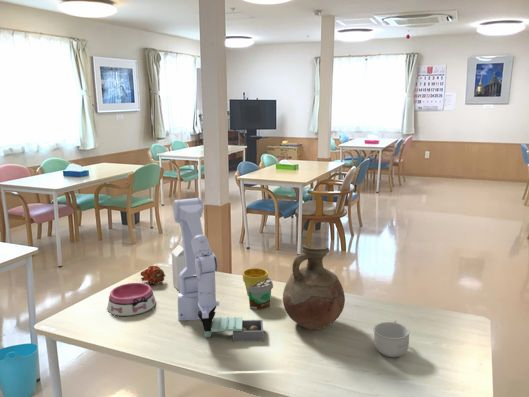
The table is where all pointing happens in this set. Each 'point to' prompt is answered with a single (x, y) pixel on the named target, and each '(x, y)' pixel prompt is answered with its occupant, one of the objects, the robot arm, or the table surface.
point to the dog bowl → (131, 300)
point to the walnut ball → (253, 328)
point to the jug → (313, 291)
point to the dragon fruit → (153, 275)
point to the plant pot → (254, 276)
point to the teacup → (391, 338)
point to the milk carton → (178, 264)
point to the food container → (260, 294)
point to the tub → (249, 334)
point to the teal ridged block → (225, 325)
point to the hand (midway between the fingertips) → (207, 328)
